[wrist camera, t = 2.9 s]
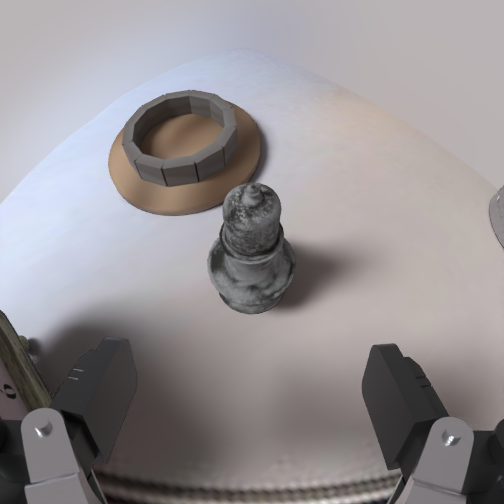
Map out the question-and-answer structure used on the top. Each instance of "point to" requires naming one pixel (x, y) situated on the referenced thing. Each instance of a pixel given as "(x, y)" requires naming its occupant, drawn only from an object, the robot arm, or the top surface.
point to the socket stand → (184, 153)
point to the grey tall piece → (251, 251)
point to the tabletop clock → (18, 376)
